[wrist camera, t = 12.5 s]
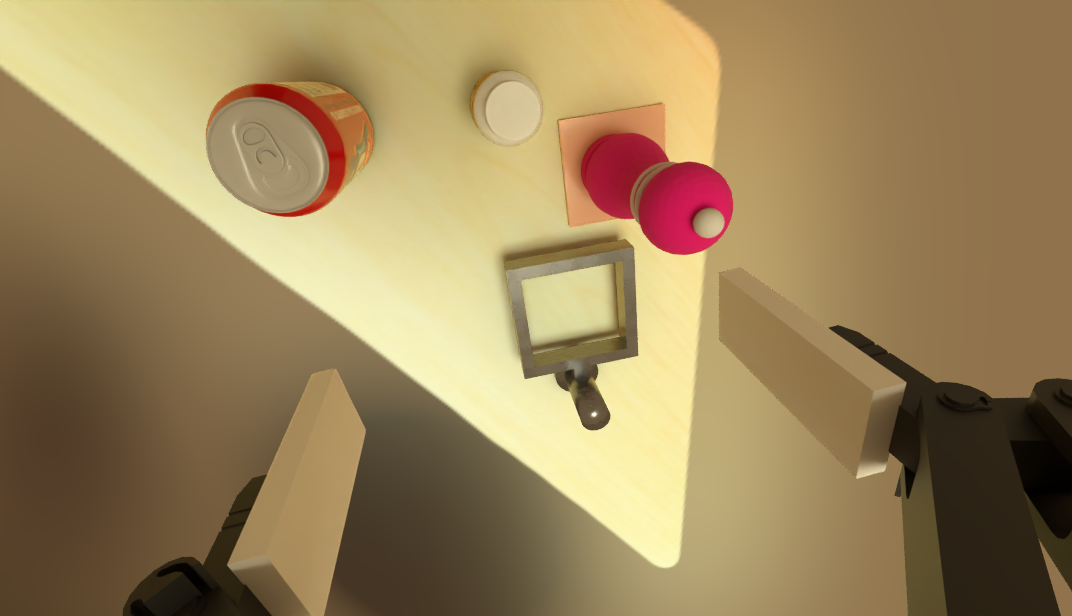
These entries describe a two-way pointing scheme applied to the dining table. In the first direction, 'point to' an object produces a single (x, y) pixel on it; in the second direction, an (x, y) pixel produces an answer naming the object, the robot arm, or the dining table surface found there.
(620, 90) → the dining table surface
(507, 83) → the supplement bottle
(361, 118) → the soda can
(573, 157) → the terracotta tile
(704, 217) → the pepper mill
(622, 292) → the square frame with post
